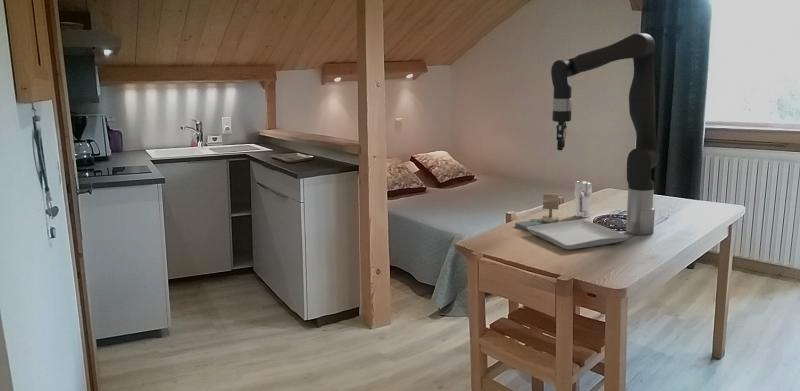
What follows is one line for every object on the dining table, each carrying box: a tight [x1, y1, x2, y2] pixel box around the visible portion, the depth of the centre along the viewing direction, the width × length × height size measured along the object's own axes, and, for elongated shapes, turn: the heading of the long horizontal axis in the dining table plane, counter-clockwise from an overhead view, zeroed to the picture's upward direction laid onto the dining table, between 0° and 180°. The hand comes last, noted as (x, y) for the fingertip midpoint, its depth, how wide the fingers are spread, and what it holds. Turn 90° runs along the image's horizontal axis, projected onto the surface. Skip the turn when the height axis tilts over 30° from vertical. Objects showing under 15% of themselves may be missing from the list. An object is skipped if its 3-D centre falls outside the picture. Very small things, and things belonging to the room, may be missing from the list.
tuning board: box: [514, 219, 564, 232], centre depth 255 cm, size 12×18×2 cm
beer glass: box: [574, 180, 593, 218], centre depth 270 cm, size 7×7×15 cm
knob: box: [529, 192, 560, 223], centre depth 256 cm, size 6×11×11 cm, turn 71°
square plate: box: [526, 219, 629, 250], centre depth 236 cm, size 27×27×4 cm
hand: (560, 148), depth 261 cm, fingers open, 8 cm apart
